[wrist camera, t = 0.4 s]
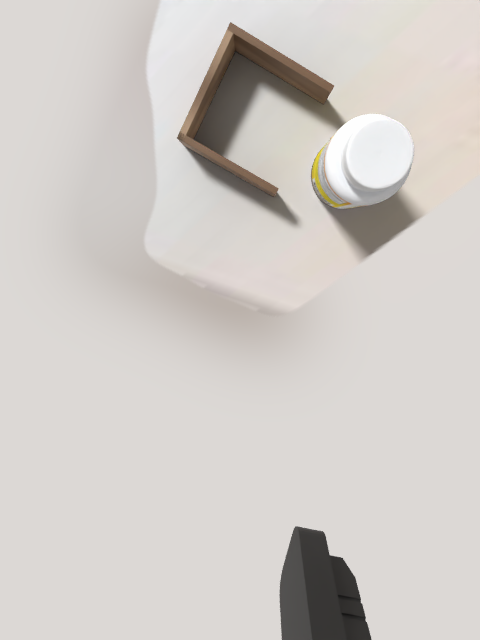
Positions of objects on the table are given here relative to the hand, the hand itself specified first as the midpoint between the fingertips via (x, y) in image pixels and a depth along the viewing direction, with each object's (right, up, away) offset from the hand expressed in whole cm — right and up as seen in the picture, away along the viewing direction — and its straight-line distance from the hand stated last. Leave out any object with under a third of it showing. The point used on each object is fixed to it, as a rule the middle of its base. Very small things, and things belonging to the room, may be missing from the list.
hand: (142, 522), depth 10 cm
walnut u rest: (+4, +22, +22) cm, 31 cm away
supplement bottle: (+11, +18, +23) cm, 31 cm away
